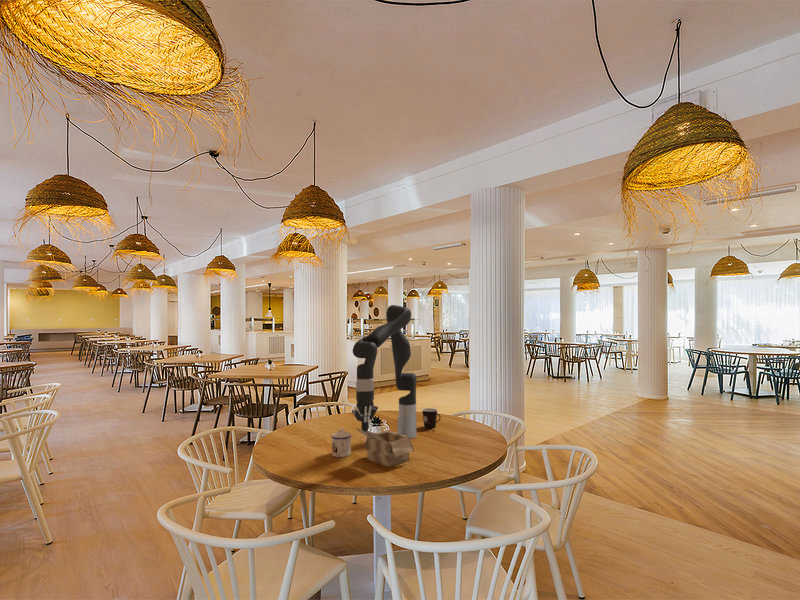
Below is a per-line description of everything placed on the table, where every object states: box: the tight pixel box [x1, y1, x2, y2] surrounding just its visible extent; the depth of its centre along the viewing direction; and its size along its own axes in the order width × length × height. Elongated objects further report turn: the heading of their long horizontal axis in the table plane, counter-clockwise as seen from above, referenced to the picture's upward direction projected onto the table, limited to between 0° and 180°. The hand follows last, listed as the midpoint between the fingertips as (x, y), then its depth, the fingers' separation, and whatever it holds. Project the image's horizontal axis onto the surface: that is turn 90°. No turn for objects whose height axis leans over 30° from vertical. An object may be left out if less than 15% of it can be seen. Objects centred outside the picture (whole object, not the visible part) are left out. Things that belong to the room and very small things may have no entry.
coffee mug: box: [421, 407, 441, 430], centre depth 238 cm, size 12×9×10 cm
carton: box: [363, 430, 415, 468], centre depth 186 cm, size 20×16×10 cm
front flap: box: [355, 427, 387, 443], centre depth 178 cm, size 13×1×8 cm
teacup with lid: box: [331, 428, 352, 458], centre depth 192 cm, size 12×9×12 cm
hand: (365, 430), depth 176 cm, fingers closed
